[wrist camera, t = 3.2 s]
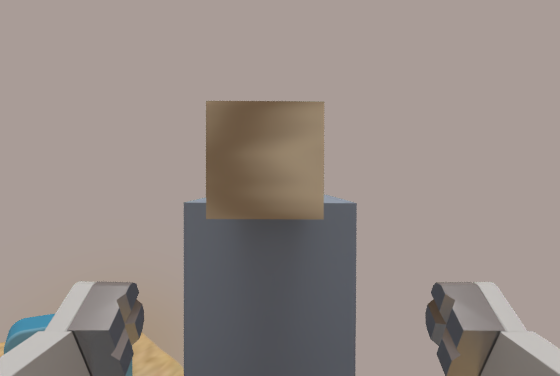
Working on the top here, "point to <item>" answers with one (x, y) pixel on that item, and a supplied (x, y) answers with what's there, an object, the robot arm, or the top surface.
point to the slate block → (270, 294)
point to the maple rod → (264, 160)
